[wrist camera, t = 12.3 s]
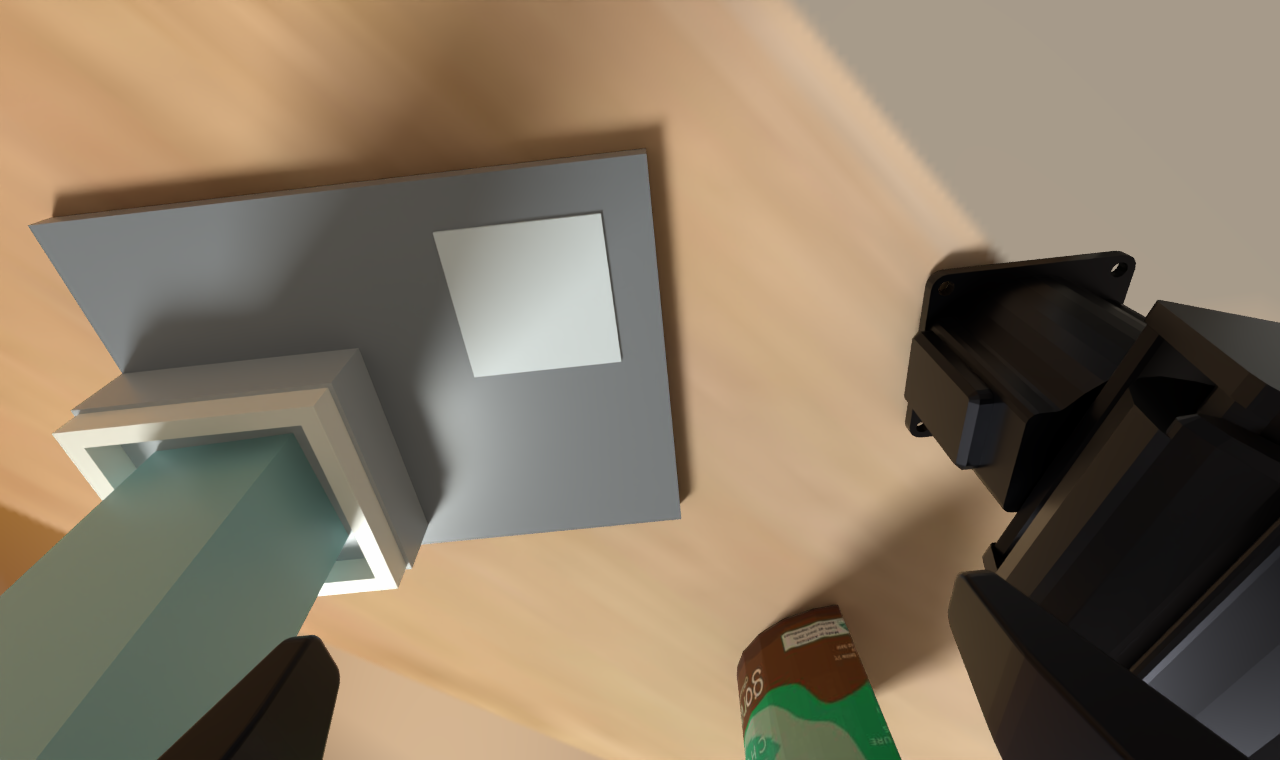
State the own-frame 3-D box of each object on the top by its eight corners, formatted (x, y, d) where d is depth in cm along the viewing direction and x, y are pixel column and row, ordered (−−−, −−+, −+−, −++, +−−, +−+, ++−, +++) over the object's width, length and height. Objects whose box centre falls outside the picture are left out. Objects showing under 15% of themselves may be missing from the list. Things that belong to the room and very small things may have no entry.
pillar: (293, 432, 19) (-266, 1140, 7) (348, 535, 21) (1, 1198, 9) (155, 451, 19) (-614, 1168, 7) (225, 551, 21) (-268, 1218, 9)
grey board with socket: (645, 148, 18) (651, 179, 14) (679, 505, 25) (689, 583, 21) (50, 217, 18) (-83, 264, 15) (253, 547, 25) (195, 630, 22)
